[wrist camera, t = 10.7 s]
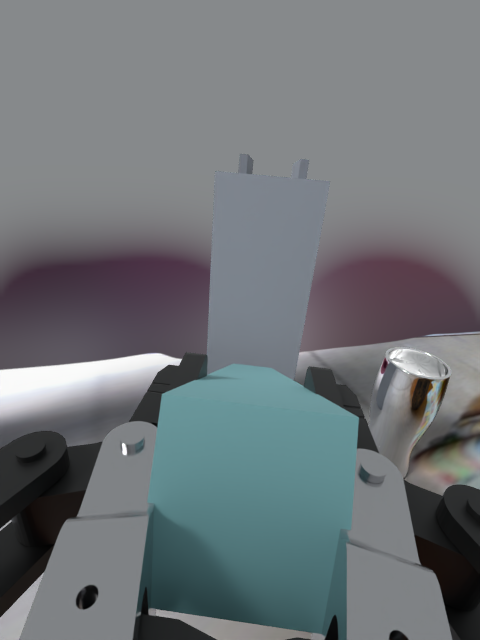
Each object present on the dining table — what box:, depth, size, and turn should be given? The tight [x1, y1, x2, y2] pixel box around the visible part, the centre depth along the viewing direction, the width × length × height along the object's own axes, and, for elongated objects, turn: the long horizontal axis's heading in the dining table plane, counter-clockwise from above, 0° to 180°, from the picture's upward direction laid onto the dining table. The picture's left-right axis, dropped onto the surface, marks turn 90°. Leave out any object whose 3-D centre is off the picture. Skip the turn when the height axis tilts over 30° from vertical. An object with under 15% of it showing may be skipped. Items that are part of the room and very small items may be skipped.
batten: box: [147, 364, 359, 634], centre depth 17 cm, size 4×24×4 cm
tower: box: [207, 154, 330, 380], centre depth 38 cm, size 10×10×34 cm
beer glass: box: [368, 347, 452, 478], centre depth 38 cm, size 7×7×15 cm
